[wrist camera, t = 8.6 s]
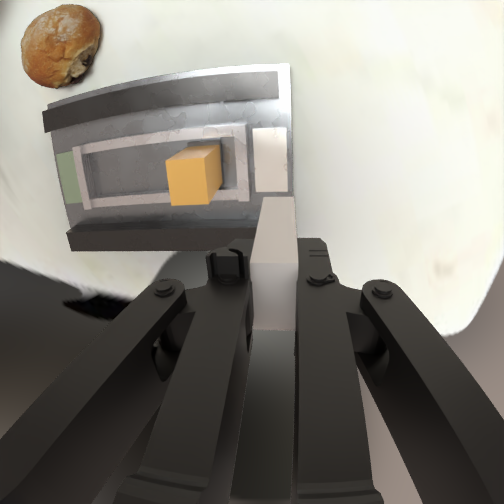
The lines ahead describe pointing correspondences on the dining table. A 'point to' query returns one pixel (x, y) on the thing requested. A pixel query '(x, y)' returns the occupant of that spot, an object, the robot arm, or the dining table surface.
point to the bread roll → (60, 45)
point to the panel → (164, 147)
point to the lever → (195, 173)
